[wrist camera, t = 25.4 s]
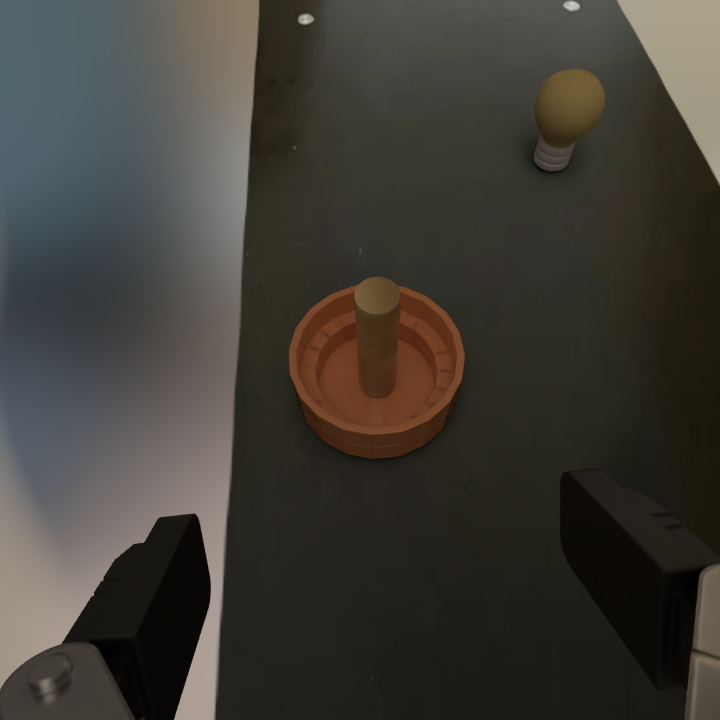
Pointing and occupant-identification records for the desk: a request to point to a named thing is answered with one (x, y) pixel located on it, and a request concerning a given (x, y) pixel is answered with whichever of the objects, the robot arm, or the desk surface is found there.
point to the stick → (377, 334)
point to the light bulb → (565, 115)
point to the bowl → (342, 386)
